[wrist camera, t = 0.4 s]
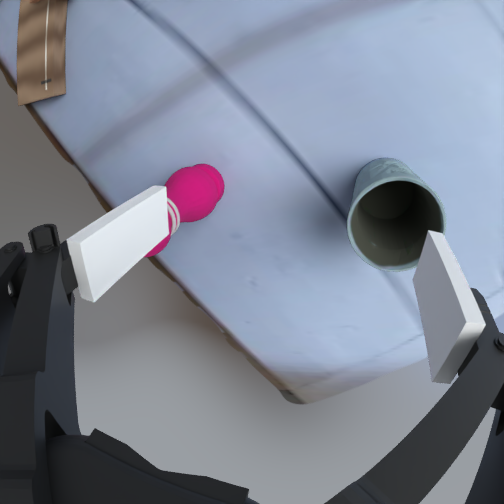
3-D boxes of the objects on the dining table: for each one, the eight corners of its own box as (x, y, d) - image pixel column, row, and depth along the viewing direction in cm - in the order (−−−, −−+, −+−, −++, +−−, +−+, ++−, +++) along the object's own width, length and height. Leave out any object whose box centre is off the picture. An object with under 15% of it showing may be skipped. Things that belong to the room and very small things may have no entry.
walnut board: (31, -3, 36) (20, -3, 33) (70, -24, 33) (58, -26, 30) (29, 103, 47) (17, 106, 45) (65, 93, 45) (53, 95, 42)
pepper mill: (201, 149, 43) (109, 194, 27) (238, 185, 44) (165, 251, 28) (173, 184, 47) (83, 242, 30) (207, 217, 48) (131, 291, 31)
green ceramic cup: (429, 162, 35) (457, 188, 25) (413, 233, 40) (430, 280, 30) (353, 146, 38) (355, 167, 27) (342, 220, 43) (338, 264, 32)
